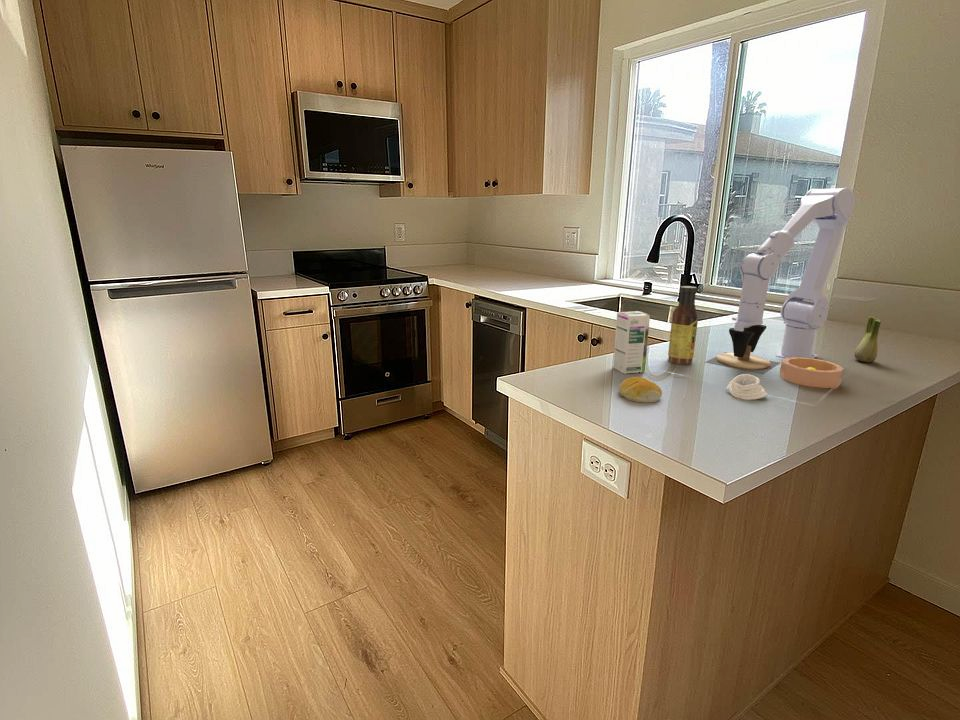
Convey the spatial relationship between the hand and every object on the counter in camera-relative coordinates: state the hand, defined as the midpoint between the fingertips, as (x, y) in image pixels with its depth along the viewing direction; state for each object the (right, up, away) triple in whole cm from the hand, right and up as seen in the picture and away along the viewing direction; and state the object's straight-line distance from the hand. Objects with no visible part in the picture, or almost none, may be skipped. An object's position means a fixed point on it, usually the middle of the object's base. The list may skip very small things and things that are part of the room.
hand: (743, 354), depth 136 cm
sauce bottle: (-16, -2, +1) cm, 16 cm away
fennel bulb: (+35, -2, +5) cm, 35 cm away
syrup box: (-32, -4, -6) cm, 33 cm away
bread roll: (-34, -10, -23) cm, 43 cm away
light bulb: (+9, -7, -13) cm, 17 cm away
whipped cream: (-11, -9, -22) cm, 26 cm away
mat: (0, -2, +1) cm, 3 cm away
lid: (0, -2, +1) cm, 2 cm away
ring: (+9, -6, -12) cm, 16 cm away
